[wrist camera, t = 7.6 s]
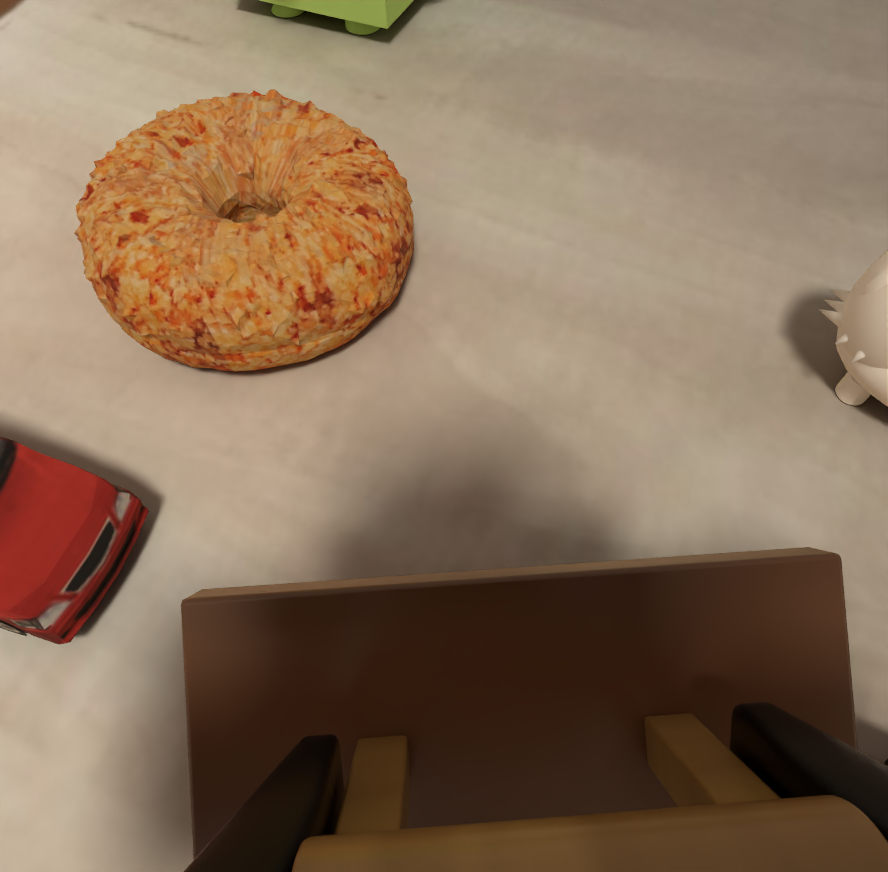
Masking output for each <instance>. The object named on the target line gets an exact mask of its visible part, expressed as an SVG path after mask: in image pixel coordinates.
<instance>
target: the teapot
mask: <svg viewBox="0 0 888 872" xmlns="http://www.w3.org/2000/svg"><path fill="white" fill-rule="evenodd" d="M259 1H264V2H268V3H273V6H272V9H271V11H272V13H273V14H274V15H276V16H278V17H286V18H287V17H294V16H298V15H300V14H302V13H303V12H304V11H309V12H313V13H318V14H322V15H327V16H331V17H336V18H340V19H345V26H346V29H347V30H348V31H349V32H351V33H353V34H358V35H366V34H371V33H374V32H376V31H377V30H379V29H380V27H381V28H385V29H388V28H389V27H390V26H391V24H392V23H393V22H394V21H395V20H396V19H397V18H398V17H399V16H400V15H401V14H402V13H403V11H404V10H405V9H406V8H407V7H408V6H409V5H410V4H411V3H412V2H413V1H414V0H259Z"/></svg>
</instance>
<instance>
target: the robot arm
mask: <svg viewBox="0 0 888 872" xmlns="http://www.w3.org/2000/svg"><path fill="white" fill-rule="evenodd" d="M730 750H731V751H732V752H733V753H734V754H735V755H736V756H737V757H738V758H739V759H740V760H741V761H742V762H743V763H744V764H745V765H747V766H748V767H749V768H750V769H751V770H752V771H753V772H754V773H755V774H756V775H757V776H758V777H759V778H760V779H761V780H762V781H763V782H764V783H765V784H766V785H768V786H769V787H770V788H771V789H772V790H773V791H774V792H775V793H776V794H777V795H778V796H779V797H780V798H781V799H783V798H795V797H807V796H820V795H833V796H837V797H840V798H842V799H845V800H847V801H849V802H851V803H852V804H853V805H855V806H856V807H858V808H859V809H860V810H861V811H862V812H863V813H864V814H866V816H867V817H868V818H869V819H870V820H871V821H872V822H873V823H874V824H875V826H876V827H877V828H878V829H879V831H880V832H881V833H882V835H883V836H884V837H885V839H886V840H887V842H888V766H887V765H885V764H883V763H881V762H879V761H877V760H875V759H874V758H872V757H870V756H868V755H866V754H864V753H862V752H861V751H859V750H857V749H855V748H853V747H851V746H849V745H848V744H846V743H844V742H842V741H840V740H838V739H836V738H835V737H833V736H831V735H829V734H827V733H825V732H823V731H822V730H820V729H818V728H816V727H814V726H812V725H810V724H809V723H807V722H805V721H803V720H801V719H799V718H797V717H796V716H794V715H792V714H790V713H788V712H786V711H784V710H783V709H781V708H779V707H777V706H775V705H773V704H771V703H768V702H755V703H742V704H738V705H737V706H735V707H734V709H733V712H732V720H731V738H730ZM344 793H345V792H344V782H343V773H342V763H341V754H340V745H339V740H338V738H337V737H336V736H335V735H334V734H328V735H314V736H306V737H304V738H303V739H301V740H300V742H299V743H298V744H297V745H296V746H295V747H294V748H293V749H292V750H291V752H290V753H289V754H288V755H287V756H286V757H285V758H284V759H283V761H282V762H281V763H280V764H279V765H278V766H277V767H276V768H275V770H274V771H273V772H272V773H271V774H270V775H269V776H268V777H267V779H266V780H265V781H264V782H263V783H262V784H261V785H260V786H259V788H258V789H257V790H256V791H255V792H254V793H253V794H252V795H251V797H250V798H249V799H248V800H247V801H246V802H245V803H244V804H243V806H242V807H241V808H240V809H239V810H238V811H237V812H236V813H235V815H234V816H233V817H232V818H231V819H230V820H229V821H228V822H227V823H226V825H225V826H224V827H223V828H222V829H221V830H220V831H219V832H218V834H217V835H216V836H215V837H214V838H213V839H212V840H211V841H210V843H209V844H208V845H207V846H206V847H205V848H204V849H203V850H202V852H201V853H200V854H199V855H198V856H197V857H196V858H195V859H194V861H193V862H192V863H191V864H190V865H189V866H188V867H187V868H186V870H185V871H184V872H292V868H293V864H294V861H295V857H296V854H297V852H298V849H299V847H300V845H301V843H302V842H303V841H304V840H305V839H307V838H309V837H311V836H323V835H334V833H335V829H336V825H337V821H338V817H339V813H340V809H341V805H342V801H343V797H344Z"/></svg>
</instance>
